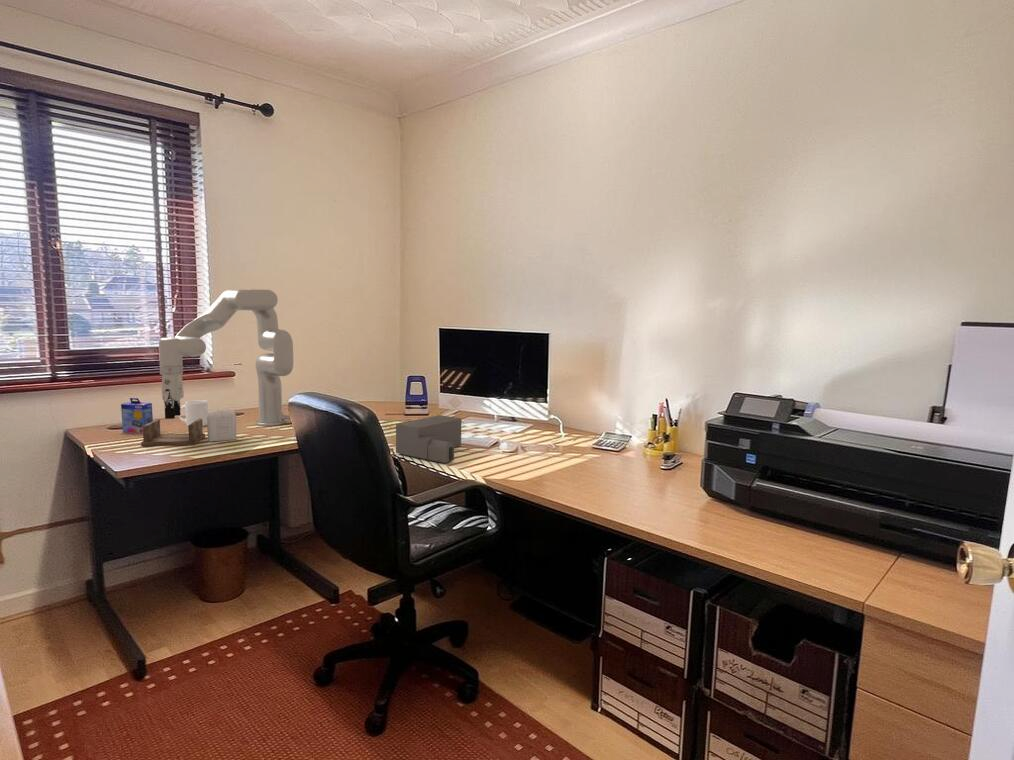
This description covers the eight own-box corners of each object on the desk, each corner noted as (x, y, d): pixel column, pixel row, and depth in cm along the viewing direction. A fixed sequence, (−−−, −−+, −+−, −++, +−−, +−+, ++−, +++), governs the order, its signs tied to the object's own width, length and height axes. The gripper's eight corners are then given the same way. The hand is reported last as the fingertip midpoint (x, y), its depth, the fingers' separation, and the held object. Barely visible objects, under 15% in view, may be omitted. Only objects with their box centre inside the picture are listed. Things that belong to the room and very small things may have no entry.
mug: (183, 423, 254) (182, 399, 253) (211, 424, 255) (211, 400, 254) (174, 427, 245) (173, 402, 244) (203, 427, 246) (202, 403, 245)
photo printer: (235, 437, 229) (234, 407, 228) (237, 439, 226) (236, 409, 224) (206, 440, 223) (205, 409, 222) (208, 442, 220) (207, 411, 218)
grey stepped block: (444, 463, 200) (444, 432, 199) (395, 452, 213) (396, 424, 212) (486, 450, 221) (486, 422, 219) (439, 441, 233) (440, 415, 232)
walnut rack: (154, 438, 225) (154, 419, 224) (205, 436, 229) (204, 418, 228) (141, 446, 211) (140, 426, 210) (194, 444, 216) (194, 425, 215)
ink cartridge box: (121, 433, 232) (119, 398, 230) (131, 430, 237) (129, 396, 235) (145, 434, 231) (143, 398, 229) (154, 431, 237) (152, 396, 235)
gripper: (175, 372, 210) (176, 421, 212) (189, 368, 226) (190, 413, 228) (152, 372, 208) (153, 421, 210) (168, 368, 224) (169, 413, 226)
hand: (172, 416), depth 219 cm, fingers open, 6 cm apart
